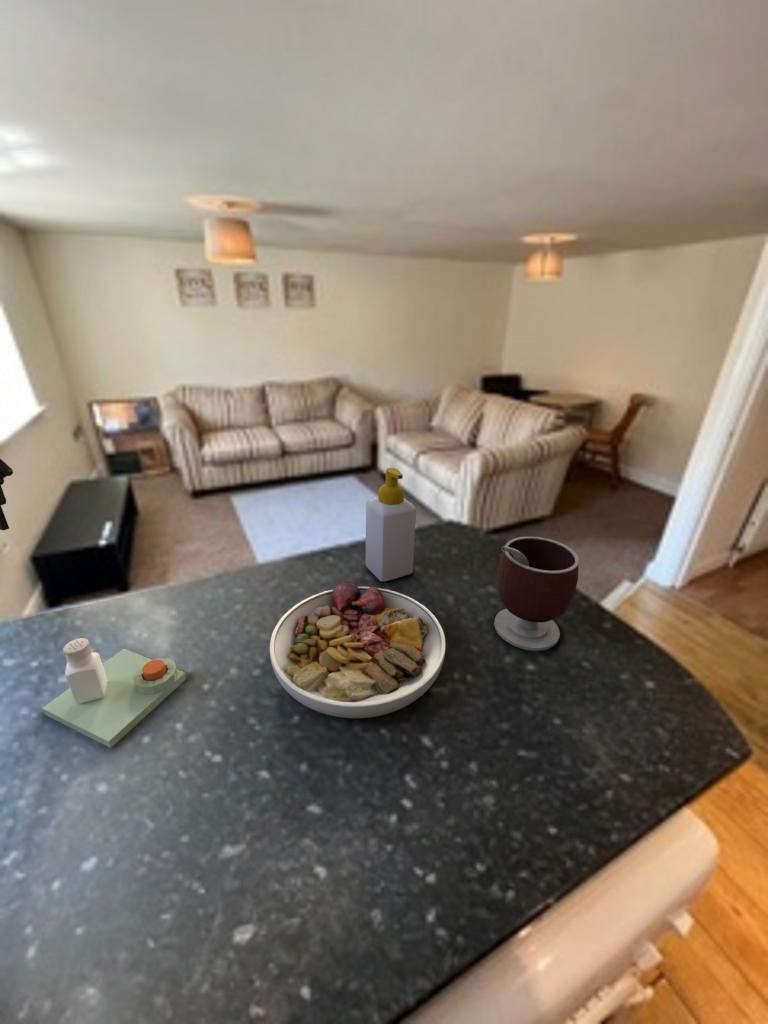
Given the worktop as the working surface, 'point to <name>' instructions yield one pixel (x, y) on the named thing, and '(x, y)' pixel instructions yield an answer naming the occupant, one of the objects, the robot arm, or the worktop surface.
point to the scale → (116, 699)
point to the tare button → (154, 670)
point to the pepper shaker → (84, 671)
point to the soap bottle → (390, 530)
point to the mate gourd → (534, 590)
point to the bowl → (357, 651)
